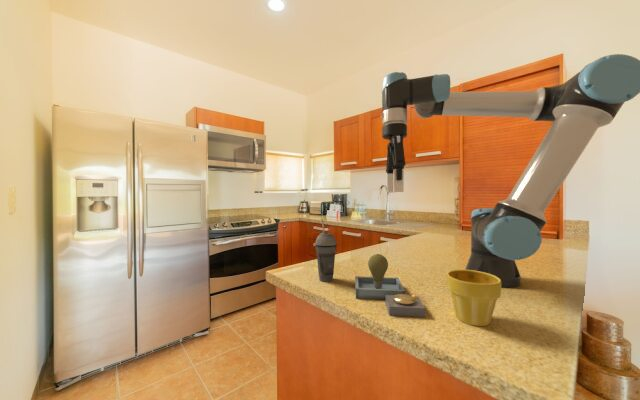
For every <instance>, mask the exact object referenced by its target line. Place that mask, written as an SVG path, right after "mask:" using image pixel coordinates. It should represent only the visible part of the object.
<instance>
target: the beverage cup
mask: <svg viewBox="0 0 640 400" xmlns="http://www.w3.org/2000/svg"><path fill="white" fill-rule="evenodd" d="M321 225H322V232H320V234H318V235H317V237H316V240H315V244H314V246H315V251H316V258H317V259H316V260H317V270H318V271H317V272H318V279H319V281H321V282H325V283H327V282H328V283H329V282H332V281H334V280H333V279H334V274H335V273H334V272H335V258H336V250H337V245H338V244H337V239H336V237H335V236H334V235H333V234H332V233H330V232H325V226H324V225H325V224H324V219H323V218H321Z"/></svg>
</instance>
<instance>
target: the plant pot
mask: <svg viewBox="0 0 640 400" xmlns="http://www.w3.org/2000/svg"><path fill="white" fill-rule="evenodd" d="M446 287H447V290H449V292H450V297H451V299H452V304H453V308H454V313H455V314H454V315H455V317H456V319H457V320H459V321H460V322H462V323H464V324H466V325H470V326H474V327H486V326H489V325H490V324H491V322H492V318H493V314H494V311H495V307H496V304H497V301H498V299H500V298H501V296H502V287H501V280H500V279H499V278H498V277H496V276H494V275H491V274H488V273H485V272H480V271H474V270H465V269H452V270H449V271H447V273H446Z"/></svg>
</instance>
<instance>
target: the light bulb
mask: <svg viewBox="0 0 640 400" xmlns="http://www.w3.org/2000/svg"><path fill="white" fill-rule="evenodd" d="M367 266H368V269H369V271H370V273H371V277H373V280H374V287H375V288H376V289H380V288H381V287H382V280H383V279H384V277H385V274H386V273H387V270H388V268H389V262H388V260H387V258H386V257H385V256H384V255H382V254H379V253H376V254H373V255H372V256H371V257H370V258H369V259H368V263H367Z"/></svg>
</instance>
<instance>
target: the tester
mask: <svg viewBox="0 0 640 400" xmlns="http://www.w3.org/2000/svg"><path fill="white" fill-rule="evenodd" d="M393 296H394V295H385V300H384V303H385V306H386V309H387V312H388V315H389V316H393V317H394V316H395V317H396V316H398V317H419V318H426V307H425V306H424V304H423V303H422V301H421V299H420V298H419V296H418V295H416V294H412V295H411V296H412V297H414V298H415V303H414V304H412V305H403V304H399V303H396V302H395V301H394V300H393Z"/></svg>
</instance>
